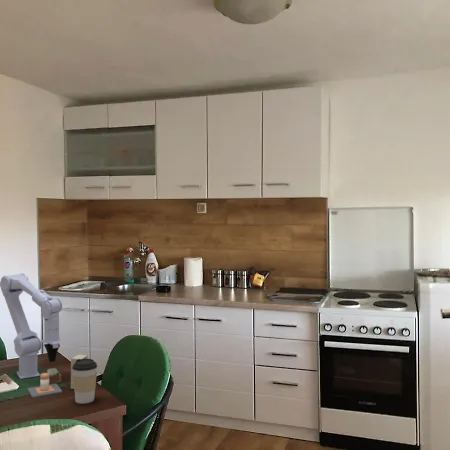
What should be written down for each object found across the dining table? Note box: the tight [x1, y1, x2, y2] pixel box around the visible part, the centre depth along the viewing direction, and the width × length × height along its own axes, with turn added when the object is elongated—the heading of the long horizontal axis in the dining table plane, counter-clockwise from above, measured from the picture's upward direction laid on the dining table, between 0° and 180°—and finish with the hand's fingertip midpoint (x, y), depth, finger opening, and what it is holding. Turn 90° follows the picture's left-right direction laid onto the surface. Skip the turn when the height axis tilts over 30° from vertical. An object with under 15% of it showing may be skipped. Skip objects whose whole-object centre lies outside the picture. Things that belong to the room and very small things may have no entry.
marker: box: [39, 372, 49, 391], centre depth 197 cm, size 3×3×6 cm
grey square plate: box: [27, 383, 63, 399], centre depth 197 cm, size 10×11×1 cm
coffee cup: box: [72, 358, 98, 405], centre depth 188 cm, size 9×9×15 cm
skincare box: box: [70, 354, 88, 390], centre depth 202 cm, size 6×4×12 cm
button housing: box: [49, 370, 62, 384], centre depth 208 cm, size 6×6×3 cm
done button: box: [46, 367, 58, 376], centre depth 208 cm, size 4×4×3 cm
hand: (52, 361), depth 208 cm, fingers closed
